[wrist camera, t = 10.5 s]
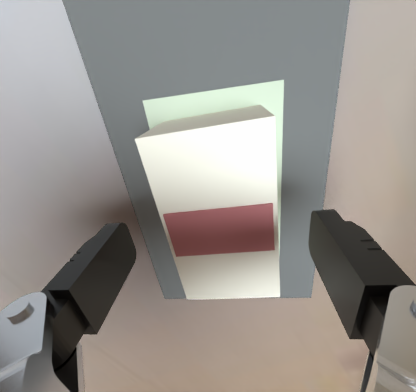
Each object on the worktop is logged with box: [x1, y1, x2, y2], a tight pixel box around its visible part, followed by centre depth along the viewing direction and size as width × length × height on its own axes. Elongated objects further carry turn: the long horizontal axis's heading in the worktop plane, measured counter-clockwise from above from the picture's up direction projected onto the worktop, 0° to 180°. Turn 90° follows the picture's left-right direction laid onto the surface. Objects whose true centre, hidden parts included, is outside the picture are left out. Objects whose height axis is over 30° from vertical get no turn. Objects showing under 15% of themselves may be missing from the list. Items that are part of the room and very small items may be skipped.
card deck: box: [135, 105, 280, 300], centre depth 11 cm, size 5×9×4 cm, turn 10°
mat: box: [62, 0, 350, 299], centre depth 13 cm, size 20×12×1 cm, turn 8°
